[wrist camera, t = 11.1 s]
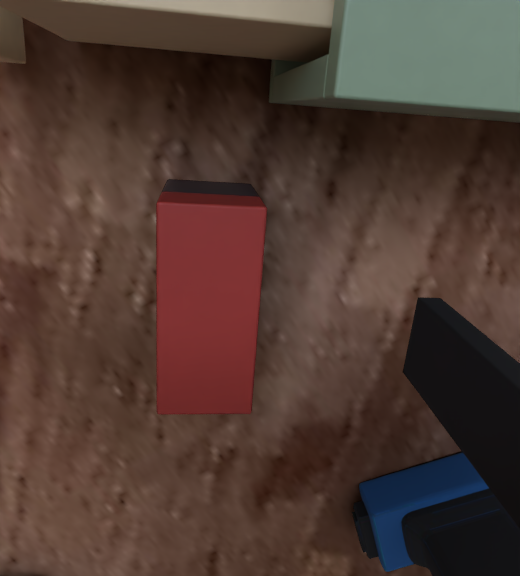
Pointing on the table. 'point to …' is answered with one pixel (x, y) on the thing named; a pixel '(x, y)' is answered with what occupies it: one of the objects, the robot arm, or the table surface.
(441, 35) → the cabinet
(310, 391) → the table surface
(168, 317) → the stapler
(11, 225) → the table surface
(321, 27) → the drawer
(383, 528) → the handheld scanner
